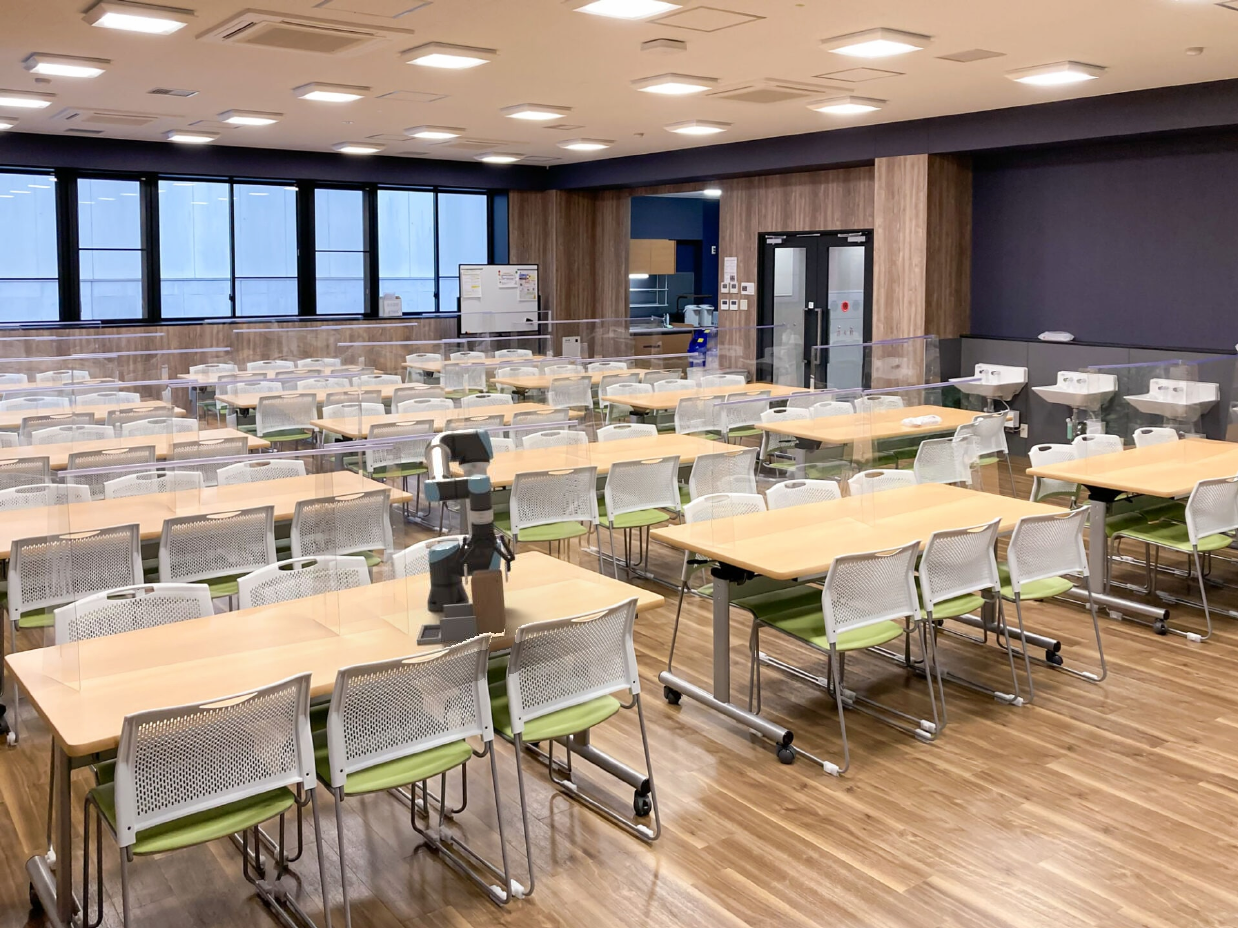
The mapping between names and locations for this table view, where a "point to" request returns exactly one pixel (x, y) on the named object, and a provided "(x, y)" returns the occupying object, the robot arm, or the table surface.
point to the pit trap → (429, 634)
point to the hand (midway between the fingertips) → (486, 582)
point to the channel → (458, 623)
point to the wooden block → (488, 601)
